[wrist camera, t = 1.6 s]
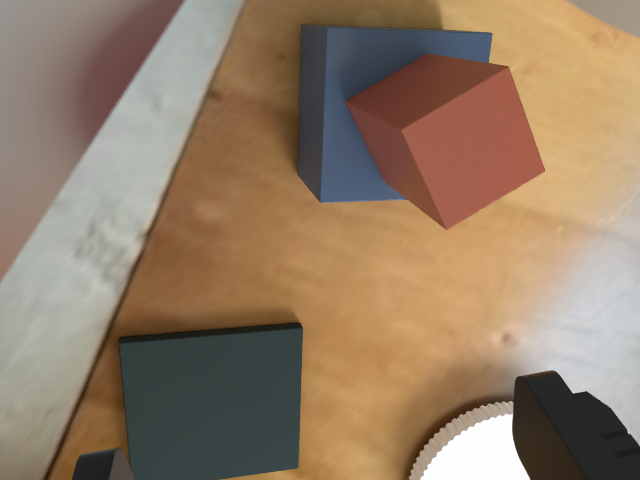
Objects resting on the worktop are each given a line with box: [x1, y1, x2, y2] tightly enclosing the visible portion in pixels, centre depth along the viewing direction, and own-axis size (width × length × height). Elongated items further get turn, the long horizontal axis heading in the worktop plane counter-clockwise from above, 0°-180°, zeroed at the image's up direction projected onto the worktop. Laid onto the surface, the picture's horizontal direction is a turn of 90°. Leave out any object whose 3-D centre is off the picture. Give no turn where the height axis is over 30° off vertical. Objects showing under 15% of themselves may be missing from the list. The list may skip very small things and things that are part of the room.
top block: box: [345, 53, 545, 230], centre depth 28 cm, size 5×5×8 cm
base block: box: [298, 24, 492, 203], centre depth 34 cm, size 9×9×6 cm
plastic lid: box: [409, 401, 530, 480], centre depth 49 cm, size 14×14×2 cm
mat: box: [119, 323, 303, 480], centre depth 42 cm, size 12×12×1 cm
